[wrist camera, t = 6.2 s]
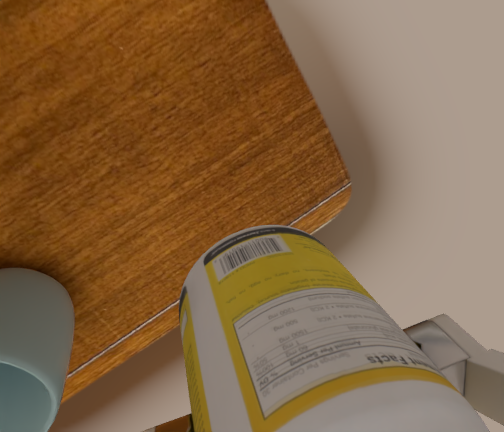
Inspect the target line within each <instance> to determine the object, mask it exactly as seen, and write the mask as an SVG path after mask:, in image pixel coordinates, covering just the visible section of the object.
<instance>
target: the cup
mask: <svg viewBox="0 0 504 432" xmlns="http://www.w3.org/2000/svg"><path fill="white" fill-rule="evenodd" d="M74 330H75V312H74V306H73V302H72V299H71V297H70V295H69V293H68V292H67V290H66V289H65V288H64V287H63V286H62V285H61V284H60V283H59V282H58V281H57V280H55V279H54V278H52V277H51V276H49V275H47V274H45V273H43V272H40V271H37V270H34V269H28V268H21V267H11V268H3V269H0V432H47V431H48V430H49V428H50V427H51V425H52V423H53V422H54V420H55V418H56V415H57V412H58V409H59V406H60V403H61V400H62V396H63V392H64V388H65V383H66V378H67V374H68V369H69V364H70V359H71V354H72V348H73V341H74Z"/></svg>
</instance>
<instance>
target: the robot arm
mask: <svg viewBox="0 0 504 432" xmlns="http://www.w3.org/2000/svg"><path fill="white" fill-rule="evenodd" d="M403 331H404V332H405V333H406V334H407V336H408V337H409V338H410V339H411V340H412V341H413V342H414V343H415V344H416V345H417V346H418V348H419V349H420V350H421V351H422V352H423V353H424V354H425V355H426V356H427V357H428V358H429V359H430V361H431V362H432V363H433V364H434V365H435V366H436V367H437V368H438V369H439V370H440V372H441V373H442V374H443V375H444V376H445V377H446V378H447V379H448V380H449V381H450V383H451V384H452V385H453V386H454V387H455V388H456V389H457V390H458V391H459V392H460V394H461V395H462V396H463V397H464V398H465V399H466V400H467V401H468V402H469V404H470V405H471V406H472V407H473V408H474V410H476V411H478V412H480V413H482V414H484V415H485V416H487V417H489V418H491V419H493V420H494V421H496V422H498V423H500V424H502V425H504V353H502V352H499V351H496V350H493V349H491V350H488V351H487V350H486V349H485V348H484V347H483V346H482V345H480V344H479V343H478V342H477V341H476V340H475V339H474V338H473V337H471V336H470V335H469V334H468V333H467V332H466V331H465V330H463V329H462V328H461V327H460V326H459V325H458V324H457V323H455V322H454V321H453V320H452V319H451V318H450V317H449V316H447V315H445V314H442V315H439V316H436V317H434V318H431V319H429V320H425V321H423V322H420V323H418V324H416V325H413V326H411V327H408V328H406V329H403ZM142 432H194V426H193V418H192V414H189V415H186V416H183V417H180V418H177V419H175V420H172V421H169V422H166V423H164V424H161V425H158V426H155V427H153V428H150V429H147V430H145V431H142Z"/></svg>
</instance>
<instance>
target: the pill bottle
mask: <svg viewBox="0 0 504 432" xmlns="http://www.w3.org/2000/svg"><path fill="white" fill-rule="evenodd" d="M179 321H180V328H181V335H182V343H183V350H184V359H185V367H186V374H187V382H188V390H189V397H190V404H191V411H192V418H193V426H194V432H489V430H488V428H487V426H486V425H485V423H484V422H483V420H482V419H481V417H480V416H479V415H478V413H477V412H476V411H475V410H474V408H473V407H472V406H471V405H470V404H469V402H468V401H467V400H466V399H465V398H464V397H463V396H462V395H461V394H460V392H459V391H458V390H457V389H456V388H455V387H454V386H453V385H452V384H451V383H450V381H449V380H448V379H447V378H446V377H445V376H444V375H443V374H442V373H441V372H440V370H439V369H438V368H437V367H436V366H435V365H434V364H433V363H432V362H431V361H430V359H429V358H428V357H427V356H426V355H425V354H424V353H423V352H422V351H421V350H420V349H419V348H418V346H417V345H416V344H415V343H414V342H413V341H412V340H411V339H410V338H409V337H408V336H407V334H406V333H405V332H404V331H403V330H402V329H401V328H400V327H399V326H398V325H397V324H396V323H395V321H394V320H393V319H392V318H391V317H390V316H389V315H388V314H387V313H386V312H385V310H384V309H383V308H382V307H381V306H380V305H379V304H378V303H377V302H376V301H375V300H374V299H373V297H372V296H371V295H370V294H369V293H368V292H367V291H366V290H365V289H364V288H363V286H362V285H360V283H359V282H358V281H357V280H356V279H355V278H354V277H353V276H352V274H351V273H350V272H349V271H348V270H347V269H346V268H345V267H344V266H343V265H342V264H341V263H340V262H339V261H338V260H337V258H336V257H335V256H334V255H333V254H332V253H331V252H330V251H329V250H328V249H327V248H326V247H325V246H324V245H323V244H322V243H321V242H320V241H319V240H317V239H316V238H315V237H313V236H311V235H310V234H308V233H306V232H304V231H302V230H299V229H296V228H293V227H288V226H282V225H262V226H256V227H251V228H247V229H244V230H241V231H239V232H236V233H234V234H231V235H229V236H227V237H225V238H224V239H222V240H220V241H219V242H217V243H216V244H214V245H213V246H212V247H211V248H209V249H208V250H207V251H206V252H205V253H204V254H203V255H202V256H201V257H200V258H199V259H198V261H197V262H196V263H195V264H194V266H193V267H192V269H191V270H190V272H189V274H188V276H187V278H186V280H185V282H184V285H183V287H182V291H181V295H180V301H179Z"/></svg>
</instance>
